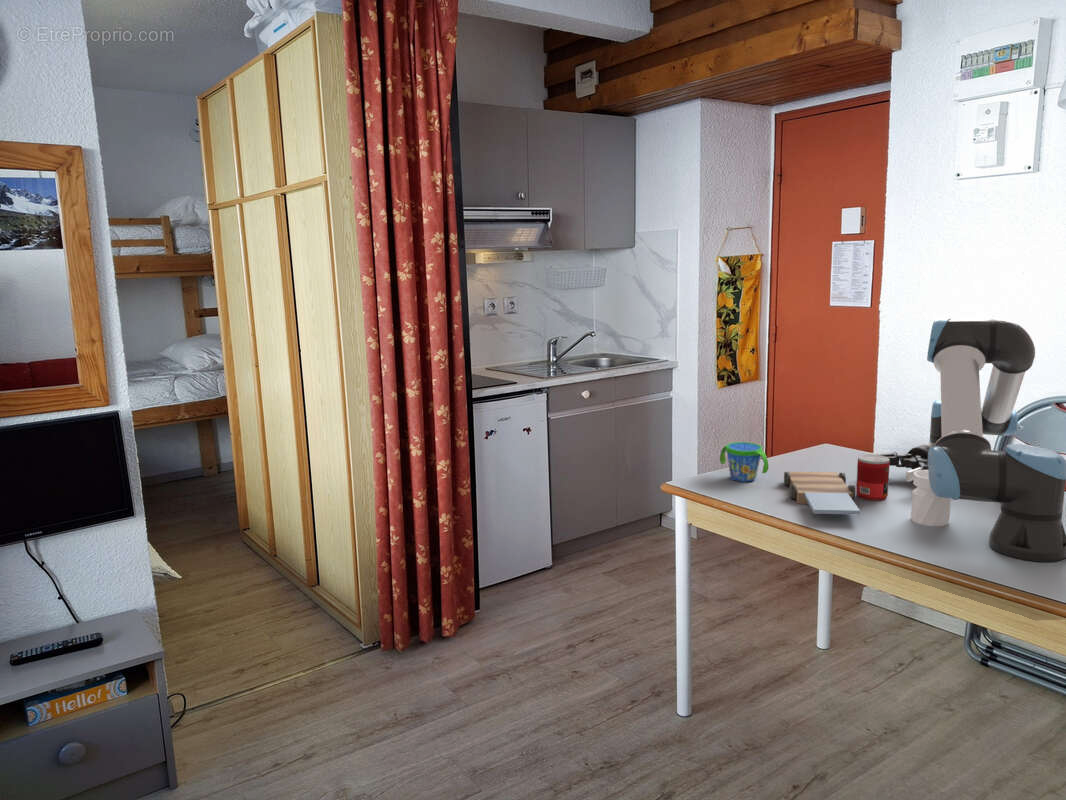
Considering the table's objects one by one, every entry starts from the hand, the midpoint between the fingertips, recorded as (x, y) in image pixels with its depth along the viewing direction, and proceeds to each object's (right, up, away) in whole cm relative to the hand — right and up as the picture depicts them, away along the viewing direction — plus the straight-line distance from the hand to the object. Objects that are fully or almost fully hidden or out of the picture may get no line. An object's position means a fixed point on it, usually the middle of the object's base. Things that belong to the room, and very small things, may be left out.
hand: (884, 471), depth 219 cm
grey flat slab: (-20, -5, -9) cm, 22 cm away
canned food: (-5, -7, -3) cm, 9 cm away
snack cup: (-35, -4, +17) cm, 39 cm away
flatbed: (-18, -6, +2) cm, 19 cm away
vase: (+1, -11, -22) cm, 25 cm away
